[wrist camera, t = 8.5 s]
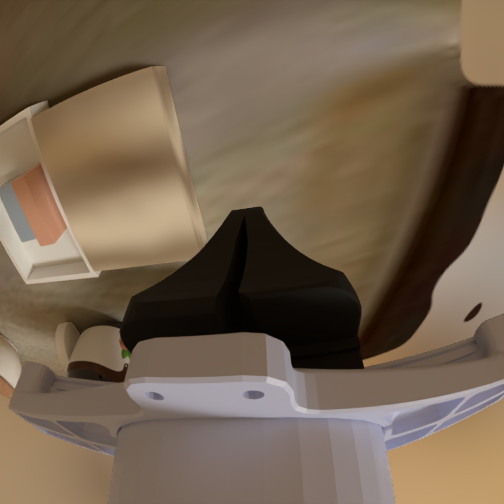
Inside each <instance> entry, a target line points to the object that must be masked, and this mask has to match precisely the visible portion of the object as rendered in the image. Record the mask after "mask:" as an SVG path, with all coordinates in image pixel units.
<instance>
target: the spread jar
mask: <svg viewBox="0 0 504 504" xmlns="http://www.w3.org/2000/svg"><path fill="white" fill-rule="evenodd" d="M120 327H121V324H119V323H113V322H105V323H99V324H95V325H93V326H91V327H89V328H88V329H86V330H85V331H84V332H83V333H82V334H81V335H80V334H79V332H78V330H77V328H76V326H75V325H74V324H73V323H71V322H67V323H60V324H59V325H58V326H57V329H56V333H55V345H56V351H57V355H58V358H59V361H60V363H61V366H62V367H63V369H64V370H65V372H66V373H67V377H70V378H78V379H85V380H94V381H104V382H114V383H121V382H124V380H125V376H126V373H127V369H128V365H129V362H130V358H131V355H132V354H131V353H130V352H129V351H128V349H127V348H126V347H125V345H124V344H123V342H122V340H121V338H120V333H119V331H120Z"/></svg>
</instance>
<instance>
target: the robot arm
mask: <svg viewBox="0 0 504 504" xmlns="http://www.w3.org/2000/svg"><path fill="white" fill-rule="evenodd" d="M360 320H361V304H360V301H359V298H358V296H357V294H356V292H355V290H354V289H353V287H352V285H351V283H350V282H349V280H348V279H347V277H346V276H345V274H344V273H343V272H341V271H338V270H335V269H332V268H330V267H327V266H324V265H322V264H320V263H318V262H316V261H314V260H312V259H310V258H308V257H307V256H305V255H304V254H302V253H300V252H299V251H298V250H296V249H295V248H294V247H293V246H292V245H290V244H289V243H288V242H287V241H286V240H285V239H284V238H283V237H282V236H281V235H280V234H279V233H278V232H277V230H276V229H275V228H274V227H273V225H272V224H271V223H270V221H269V220H268V218H267V217H266V215H265V213H264V210H263V208H262V207H253V208H246V209H239V210H232V211H231V212H230V214H229V215H228V216H227V218H226V219H225V221H224V222H223V224H222V225H221V226H220V228H219V229H218V230H217V232H216V233H215V234H214V236H213V237H212V238H211V239H210V240H209V242H208V243H207V244H206V245H205V246H204V247H203V248H202V249H201V250H200V251H199V252H198V253H197V254H196V255H195V256H194V257H193V258H192V259H191V260H190V261H188V262H187V263H186V264H185V265H183V266H182V267H181V268H180V269H178V270H177V271H176V272H174V273H173V274H171V275H170V276H168V277H167V278H166V279H164V280H162V281H161V282H159V283H157V284H156V285H154V286H152V287H150V288H148V289H146V290H144V291H142V292H140V293H139V294H137V295H134V296H132V298H131V300H130V302H129V305H128V307H127V310H126V313H125V316H124V318H123V321H122V324H121V327H120V331H119V333H120V338H121V340H122V342H123V344H124V345H125V347H126V348H127V349H128V351H129V352H130V353H131V354H132V355H131V358H130V362H129V365H128V369H127V373H126V376H125V380H124V382H121V383H114V382H104V381H94V380H85V379H78V378H70V377H64V376H57V375H55V373H54V372H53V371H52V370H51V369H50V368H49V367H47V366H46V365H44V364H42V363H37V362H31V361H26V363H25V365H24V368H23V370H22V372H21V375H20V377H19V379H18V382H17V384H16V387H15V390H14V392H13V395H12V398H11V400H10V403H9V409H11V410H12V411H13V412H15V413H16V414H17V415H19V416H20V417H21V418H23V419H24V420H26V421H27V422H28V423H30V424H32V425H33V426H34V427H36V428H37V429H39V430H41V431H42V432H44V433H45V434H47V435H50V436H53V437H55V438H58V439H61V440H64V441H67V442H70V443H72V444H75V445H78V446H81V447H84V448H87V449H90V450H93V451H96V452H100V453H103V454H106V455H110V456H113V457H114V462H113V468H112V474H111V480H110V488H109V495H108V502H107V504H396V503H395V496H394V489H393V484H392V477H391V471H390V466H389V460H388V455H387V451H389V450H392V449H395V448H398V447H401V446H403V445H406V444H409V443H411V442H414V441H416V440H419V439H422V438H424V437H426V436H429V435H431V434H433V433H436V432H438V431H440V430H442V429H444V428H447V427H449V426H451V425H453V424H455V423H457V422H459V421H461V420H463V419H465V418H467V417H469V416H471V415H473V414H475V413H477V412H479V411H481V410H482V409H484V408H486V407H488V406H490V405H492V404H494V403H496V402H497V401H499V400H500V399H502V398H503V397H504V314H501V315H499V316H496V317H493V318H491V319H488V320H486V321H484V322H483V323H482V324H481V325H480V326H479V327H478V329H477V330H476V332H475V335H474V337H472V338H468V339H466V340H463V341H460V342H457V343H454V344H451V345H448V346H445V347H442V348H438V349H435V350H432V351H428V352H425V353H421V354H418V355H415V356H410V357H406V358H402V359H399V360H394V361H390V362H386V363H382V364H377V365H373V366H368V367H364V365H363V361H362V358H361V354H360V350H359V349H360V341H359V338H358V330H359V325H360Z"/></svg>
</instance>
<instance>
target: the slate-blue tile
mask: <svg viewBox="0 0 504 504" xmlns="http://www.w3.org/2000/svg"><path fill="white" fill-rule="evenodd" d="M22 174H23V173H22ZM20 175H21V174H20ZM20 175H18V176H20ZM18 176H16V177H14V178H12V179H10V180H8V181H7V182H5V183H4V184H3V185H1V186H0V198H1V200H2V202H3V205H4V207H5V209H6V211H7V213H8V216H9V218H10V220H11V222H12V224H13V226H14V228H15V230H16V232H17V234H18V236H19V238H20V240H21V241H22V242H26V241H30V240H34V239H36V237H35V235H34V233H33V231H32V229H31V227H30V225H29V223H28V221H27V219H26V216H25V214H24V212H23V210H22V208H21V205H20V203H19V201H18V199H17V196H16V194H15V192H14V189H13V187H12V184H11V182H12V181H13V180H14V179H16V178H17V177H18Z"/></svg>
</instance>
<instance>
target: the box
mask: <svg viewBox="0 0 504 504" xmlns="http://www.w3.org/2000/svg"><path fill="white" fill-rule="evenodd" d="M49 108H50V107H49V104H48V100H46V101H43V102H40V103H38V104H35V105H32V106H30V107H28V108H26V109H25V110H23V111H21V112H20V113H18V114H17V115H15V116H14V117H12V118H11V119H9V120H8V121H6V122H5V123H3V124H2V125H1V126H0V186H1V185H3V184H4V183H5V182H7V181H8V180H10V179H12V178H14V177H16V176H18V175H20V174H22V173H24V172H25V171H27V170H28V169H29V168H31V167H32V166H34V165H35V164H37V163H38V162H40V163H41V166H42V169H43V171H44V174H45V177H46V179H47V182H48V184H49V187H50V189H51V192H52V194H53V196H54V199H55V201H56V204H57V206H58V208H59V210H60V213H61V215H62V217H63V219H64V221H65V224H66V226H67V229H66V230H65V231H64V232H63V234H62V235H61V236H60V237H59V239H58V240H57V241H56V242H55V244H50V245H46V246H40V244H39V243H38V241H37V239H34V240H30V241H26V242H22V241H21V240H20V238H19V236H18V234H17V232H16V230H15V228H14V226H13V224H12V222H11V220H10V218H9V216H8V213H7V211H6V209H5V207H4V205H3V202H2V200H1V198H0V240H1V242H2V244H3V246H4V248H5V250H6V251H7V253H8V255H9V257H10V258H11V260H12V262H13V263H14V265H15V267H16V268H17V270H18V272H19V273H20V275H21V277H22V278H23V280H24V281H25V283H26V284H35V283H45V282H54V281H64V280H74V279H83V278H92V277H99V275H100V273H101V271H96V272H94V271H93V269H92V267H91V265H90V263H89V261H88V260H87V258H86V256H85V254H84V252H83V250H82V248H81V246H80V244H79V242H78V240H77V238H76V236H75V234H74V232H73V230H72V228H71V225H70V223H69V221H68V219H67V217H66V214H65V212H64V210H63V208H62V205H61V203H60V201H59V198H58V196H57V194H56V191H55V189H54V186H53V184H52V181H51V178H50V176H49V173H48V171H47V168H46V165H45V162H44V159H43V157H42V154H41V151H40V148H39V145H38V142H37V138H36V135H35V132H34V128H33V125H32V122H31V118H33V117H35V116H36V115H38V114H40V113H42V112H43V111H45V110H47V109H49Z"/></svg>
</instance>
